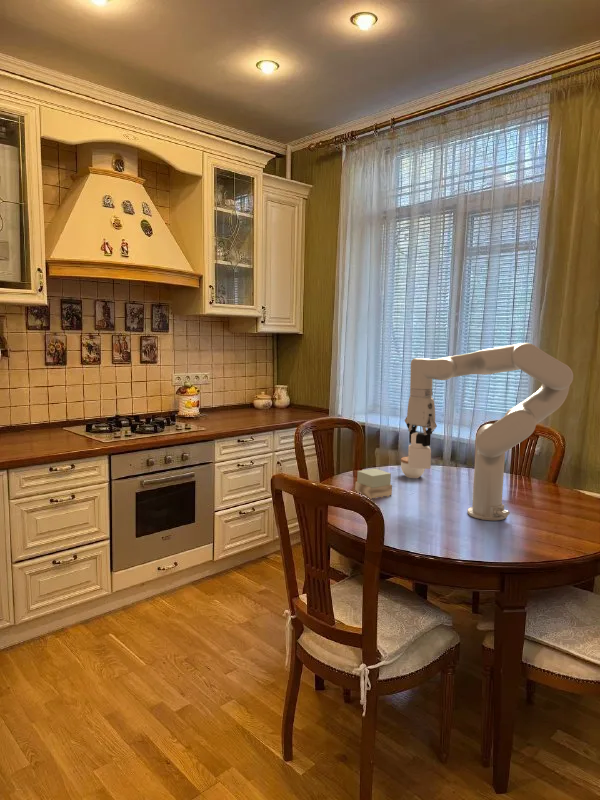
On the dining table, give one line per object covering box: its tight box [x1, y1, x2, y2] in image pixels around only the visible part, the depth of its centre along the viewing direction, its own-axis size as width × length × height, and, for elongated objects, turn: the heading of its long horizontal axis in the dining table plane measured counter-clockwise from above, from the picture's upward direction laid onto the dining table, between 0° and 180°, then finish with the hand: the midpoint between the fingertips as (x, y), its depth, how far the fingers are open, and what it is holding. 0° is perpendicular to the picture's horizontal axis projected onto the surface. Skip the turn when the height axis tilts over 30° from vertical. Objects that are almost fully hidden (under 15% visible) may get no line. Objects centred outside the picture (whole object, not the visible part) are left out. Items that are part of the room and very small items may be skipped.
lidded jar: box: [400, 456, 425, 479], centre depth 242 cm, size 11×11×9 cm
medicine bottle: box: [407, 431, 432, 470], centre depth 196 cm, size 7×7×12 cm
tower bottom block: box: [354, 481, 393, 500], centre depth 214 cm, size 10×10×4 cm
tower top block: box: [356, 468, 392, 488], centre depth 214 cm, size 9×9×4 cm
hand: (419, 443), depth 196 cm, fingers closed on medicine bottle, 6 cm apart
